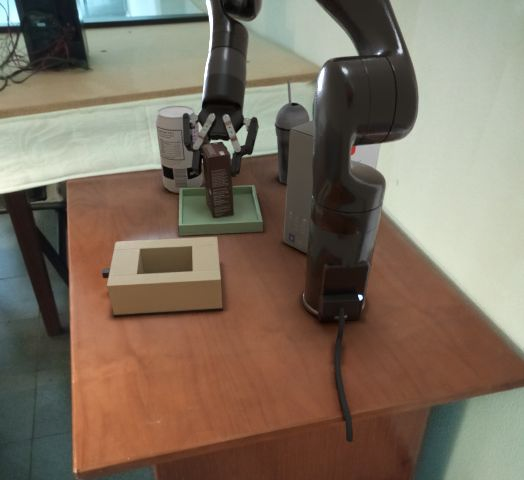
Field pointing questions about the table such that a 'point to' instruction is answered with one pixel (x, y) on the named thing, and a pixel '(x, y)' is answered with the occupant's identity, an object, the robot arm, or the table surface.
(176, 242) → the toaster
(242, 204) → the tray
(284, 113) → the beverage cup
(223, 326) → the table surface
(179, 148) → the supplement can
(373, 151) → the hard drive box
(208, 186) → the box
